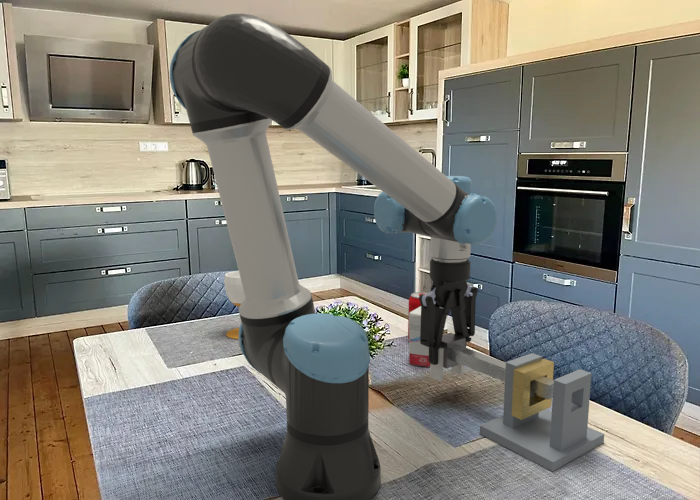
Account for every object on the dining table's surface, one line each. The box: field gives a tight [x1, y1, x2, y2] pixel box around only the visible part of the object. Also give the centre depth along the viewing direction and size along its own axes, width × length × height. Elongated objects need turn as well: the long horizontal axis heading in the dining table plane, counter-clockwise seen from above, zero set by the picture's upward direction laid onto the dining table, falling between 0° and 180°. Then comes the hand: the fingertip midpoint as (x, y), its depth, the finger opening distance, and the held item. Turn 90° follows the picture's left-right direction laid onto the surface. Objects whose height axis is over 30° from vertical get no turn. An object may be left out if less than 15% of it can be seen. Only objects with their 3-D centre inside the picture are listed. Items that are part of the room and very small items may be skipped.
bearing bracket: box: [479, 352, 605, 472], centre depth 91 cm, size 14×14×12 cm
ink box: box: [408, 306, 442, 368], centre depth 126 cm, size 9×5×12 cm, turn 150°
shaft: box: [434, 332, 555, 399], centre depth 99 cm, size 5×25×5 cm, turn 36°
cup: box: [223, 270, 245, 340], centre depth 144 cm, size 9×9×16 cm
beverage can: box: [407, 291, 429, 340], centre depth 138 cm, size 6×6×12 cm
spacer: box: [512, 358, 555, 420], centre depth 92 cm, size 8×2×8 cm, turn 126°
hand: (447, 375), depth 109 cm, fingers closed on shaft, 5 cm apart
